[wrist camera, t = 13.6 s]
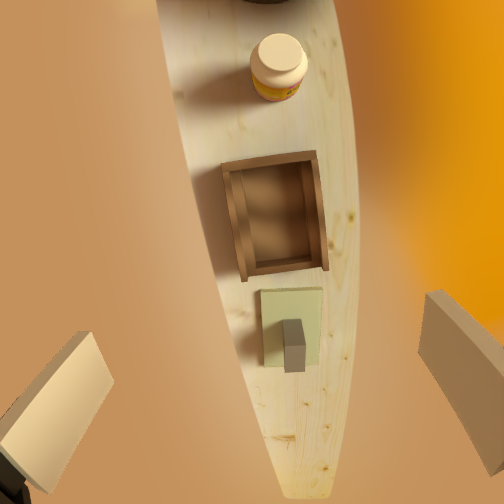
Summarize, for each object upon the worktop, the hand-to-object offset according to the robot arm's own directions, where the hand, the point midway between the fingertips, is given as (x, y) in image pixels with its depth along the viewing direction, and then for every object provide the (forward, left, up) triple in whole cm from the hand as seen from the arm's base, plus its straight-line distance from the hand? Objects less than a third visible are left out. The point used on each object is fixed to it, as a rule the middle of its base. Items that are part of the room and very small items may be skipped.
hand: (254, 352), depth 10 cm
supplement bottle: (-18, -4, -35) cm, 39 cm away
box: (0, +2, -35) cm, 35 cm away
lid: (+18, +11, -35) cm, 41 cm away
